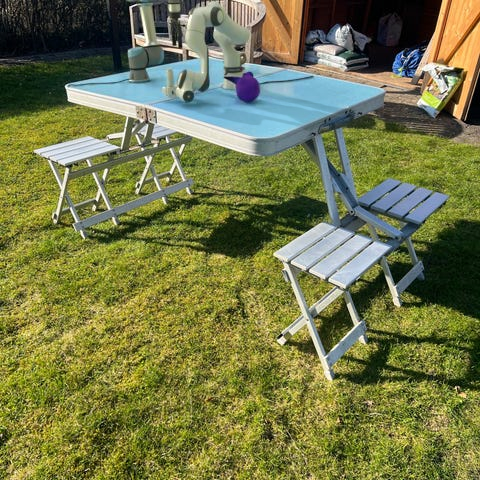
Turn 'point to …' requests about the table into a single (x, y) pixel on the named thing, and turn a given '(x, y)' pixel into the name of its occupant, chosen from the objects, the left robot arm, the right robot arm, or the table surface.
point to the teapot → (243, 59)
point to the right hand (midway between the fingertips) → (175, 87)
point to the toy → (246, 86)
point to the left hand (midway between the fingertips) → (177, 47)
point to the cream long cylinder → (170, 77)
